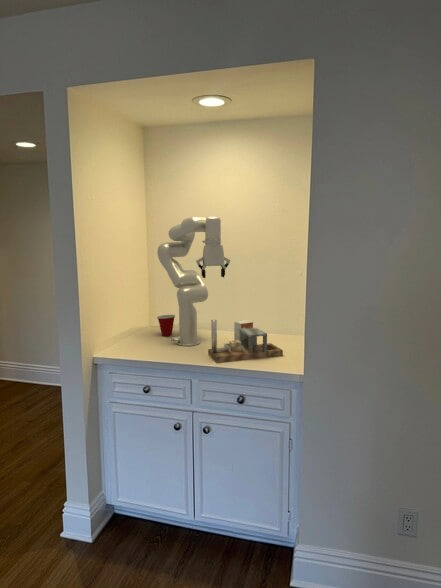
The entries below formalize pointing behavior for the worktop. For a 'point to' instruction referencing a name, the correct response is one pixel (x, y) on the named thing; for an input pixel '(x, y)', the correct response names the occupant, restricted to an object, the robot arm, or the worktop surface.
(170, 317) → the plastic cup
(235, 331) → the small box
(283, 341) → the worktop surface
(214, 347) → the sliding frame
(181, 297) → the robot arm
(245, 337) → the brown wooden tray
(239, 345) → the maple block
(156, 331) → the worktop surface
